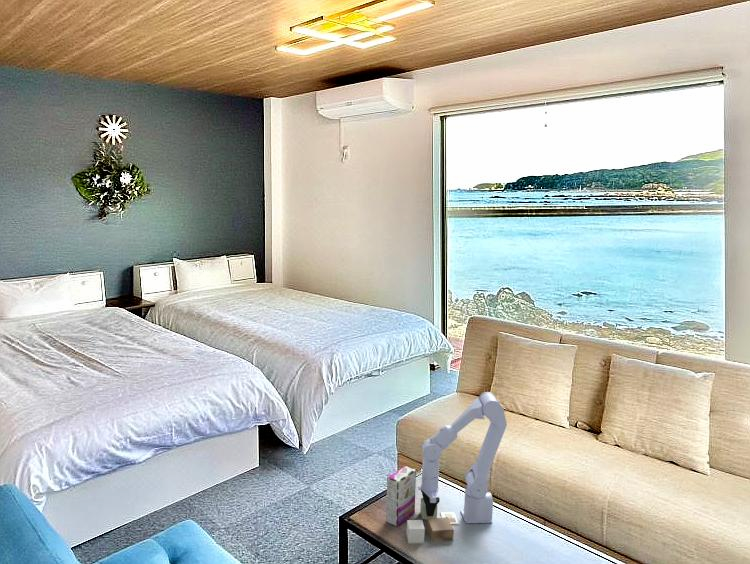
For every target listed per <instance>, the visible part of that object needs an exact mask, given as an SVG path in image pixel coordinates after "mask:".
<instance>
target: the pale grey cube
mask: <svg viewBox="0 0 750 564" xmlns="http://www.w3.org/2000/svg"><path fill="white" fill-rule="evenodd" d="M425 528H426V527H425V526H424V522H423V519H409V520H408V519H406V538H407V543H408V544H425Z"/></svg>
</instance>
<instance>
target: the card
mask: <svg viewBox="0 0 750 564" xmlns="http://www.w3.org/2000/svg"><path fill="white" fill-rule="evenodd" d="M439 513H440V518H447V517H448V519H449V521H450V523H451V525H453V526H454V525H455V526H456V525H459V522H458V519H457V516H456V513H455V511H447V512H446V511H444V512H443V511H441V512H439ZM459 526H460V525H459Z"/></svg>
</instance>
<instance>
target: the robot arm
mask: <svg viewBox="0 0 750 564" xmlns="http://www.w3.org/2000/svg"><path fill="white" fill-rule="evenodd" d="M485 417H486V418H487V419H488V420H489V421H490V424H489V426H488V430H487V432H486V434H485V437H484V439H483V442H482V445H481V447H480V450H479V452H478V455H477V458H476V460H475V463H472V465H471V467H470V469H469V470H468V471H466V473H465V475H464V480H465V483H466V487H465V490H464V502H463V503H464V505H463V508H461V509H460V513H461V516H462V518H463V521H464V523H465V524H493V511H494V510H493V509H494V500H493V495H492V492H490V491H489V487H488V484H489V482H490V481H489V479H490V469H491V467H492V465H493V462H494V459H495V456H496V455H497V452H498V449H499V447H500V443H501V441H502V438H503V436H504V434H505V431H506V428H507V424H508V423H507V418H506V415H505V409H504V408H503V405H501V403H500V401H499V400H498V398H497V397H496V396H495V394H494V393H492V392H490V391H484V392H481V394H479V396H478V397H476V398H475V399H474V400H473V401H472V402H471V403H470V405H469V406H467V408H466V409H465V410H464V411H463V412H462V413H461V414H460V416H458V417H456V419H455V420H454V421H453V422H452V423H451V424H445V425H444V426H440V427H439V430H438V431H437V433H435V434H434V435H433V436H430V437H429V439H426V440H424V442H423V443H422V445H421V447H422V451H423V453H422V454H423V456H422V464H421V466H422V469H421V470H422V471H421V484H418V485H417V489H418V490H419V491H420V492H421V495H422V498H423V500H424V502H425V506H426V514H427V516H433V515H434V512H435V508H436V506H437V507H438V504H439V503H440V502H441V501H440V497H439V496H437V495H438V492H439V475H440V459H441V457H442V452H443V451H445V450H446V449H447V448H448V447H449V446H450V445H452V444H453V443H454V441H456V440H457V439H458V433H459V432H460V431H462V430H463V429H464V428H465V427H467V426H468V425H469V424H470V423H472V422H473V421H474V420H475V419H476V420H477V419H478V420H485V419H486V418H485Z"/></svg>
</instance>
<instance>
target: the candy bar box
mask: <svg viewBox="0 0 750 564" xmlns="http://www.w3.org/2000/svg"><path fill="white" fill-rule="evenodd" d="M416 478H417V470H416V469H415V468H412V467H409V466H407V465H404V466H403V467H400V469H397V471H395V472H393V473H392V474H390V475H389V476H387V477H386V519H385V520H386V522H385V523H388V524H390V525H392V526H394V527H399V526H400V525H401V524H403V523H404V522H405V521H407V520H408V519H409V518H410V517H412V516H413V515H414V514H415V513H416V512H415V511H416V483H417V482H416V480H417V479H416Z"/></svg>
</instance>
